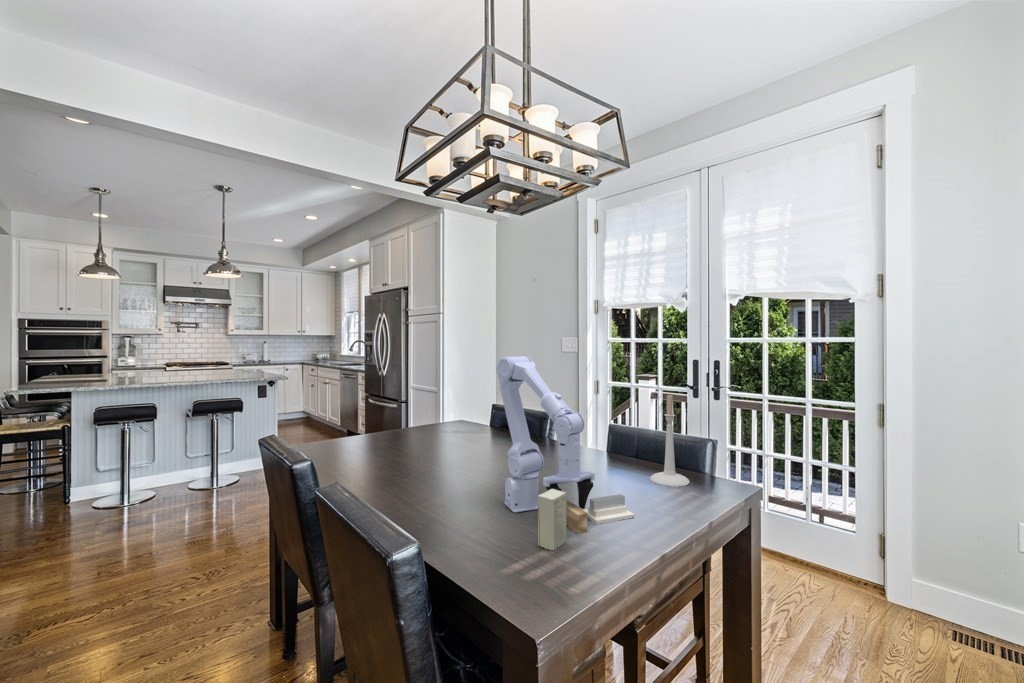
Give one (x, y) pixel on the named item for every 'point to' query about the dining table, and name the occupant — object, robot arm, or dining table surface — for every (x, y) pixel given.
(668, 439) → the candlestick
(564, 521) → the skincare box
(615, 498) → the ridge stand
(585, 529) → the oak bar
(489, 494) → the dining table surface
